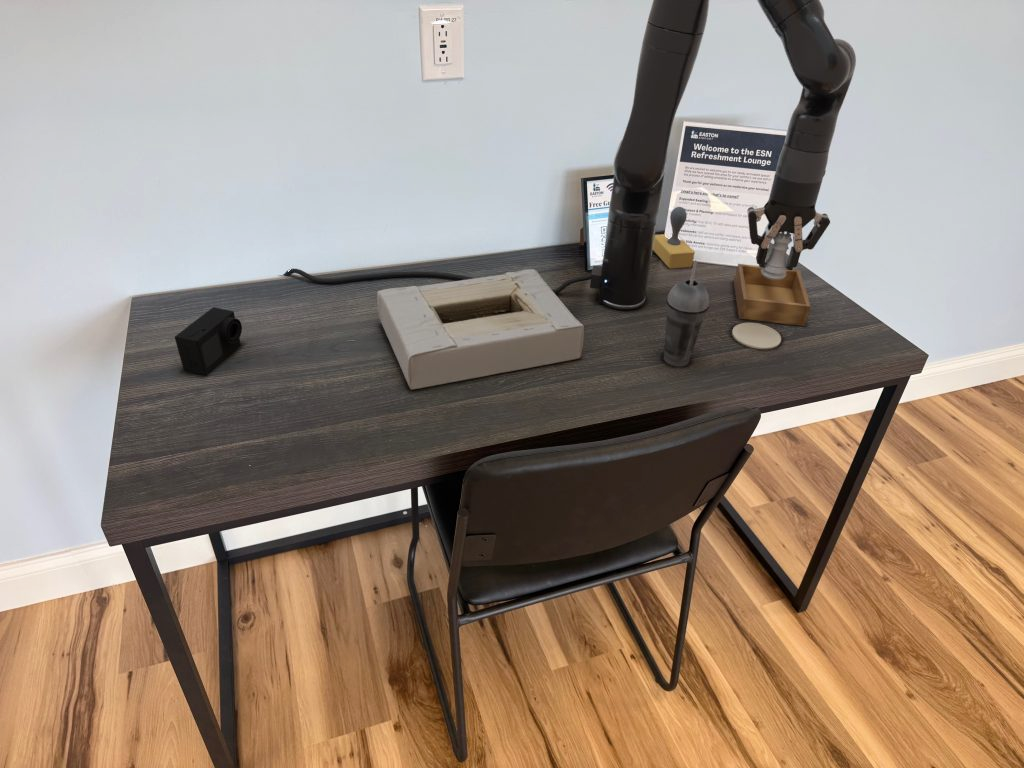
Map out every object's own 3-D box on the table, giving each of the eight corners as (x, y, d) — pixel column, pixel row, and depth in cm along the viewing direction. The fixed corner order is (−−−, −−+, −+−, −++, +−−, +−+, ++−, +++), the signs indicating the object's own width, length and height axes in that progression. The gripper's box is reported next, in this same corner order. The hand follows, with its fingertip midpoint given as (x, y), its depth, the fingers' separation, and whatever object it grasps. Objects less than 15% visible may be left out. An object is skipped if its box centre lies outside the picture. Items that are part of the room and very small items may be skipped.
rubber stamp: (651, 249, 169) (658, 199, 162) (674, 247, 170) (683, 197, 163) (668, 268, 161) (677, 217, 154) (692, 266, 162) (702, 215, 155)
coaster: (733, 346, 136) (734, 344, 135) (730, 321, 143) (730, 320, 143) (783, 352, 135) (784, 350, 134) (777, 327, 142) (778, 325, 142)
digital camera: (211, 377, 122) (202, 342, 118) (183, 371, 123) (173, 336, 119) (247, 346, 130) (240, 311, 126) (220, 340, 132) (212, 306, 127)
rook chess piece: (783, 283, 129) (795, 241, 124) (758, 277, 131) (768, 235, 126) (787, 272, 132) (798, 231, 128) (762, 267, 134) (772, 226, 129)
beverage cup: (699, 353, 133) (721, 252, 122) (694, 374, 128) (716, 271, 116) (659, 345, 135) (677, 245, 123) (652, 365, 129) (670, 263, 118)
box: (533, 298, 148) (377, 322, 138) (536, 264, 144) (374, 286, 133) (583, 360, 131) (409, 393, 121) (588, 324, 126) (407, 354, 116)
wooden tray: (738, 318, 144) (743, 298, 142) (733, 282, 157) (738, 263, 154) (804, 326, 142) (811, 306, 140) (794, 288, 155) (799, 270, 152)
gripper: (840, 169, 123) (812, 262, 133) (753, 162, 125) (732, 254, 135) (849, 185, 117) (819, 280, 127) (757, 177, 119) (735, 272, 128)
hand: (774, 266), depth 131 cm, fingers closed on rook chess piece, 4 cm apart
